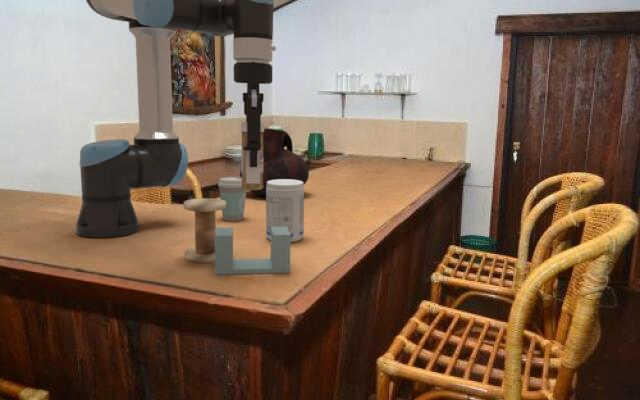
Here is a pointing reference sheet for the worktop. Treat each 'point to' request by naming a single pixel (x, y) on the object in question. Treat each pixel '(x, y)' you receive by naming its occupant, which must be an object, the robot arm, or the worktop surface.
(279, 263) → the blue-grey u-shaped block
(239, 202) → the coffee cup
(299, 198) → the supplement tub
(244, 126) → the sprinkles bottle
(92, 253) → the worktop surface
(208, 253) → the bobbin
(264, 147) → the jug
